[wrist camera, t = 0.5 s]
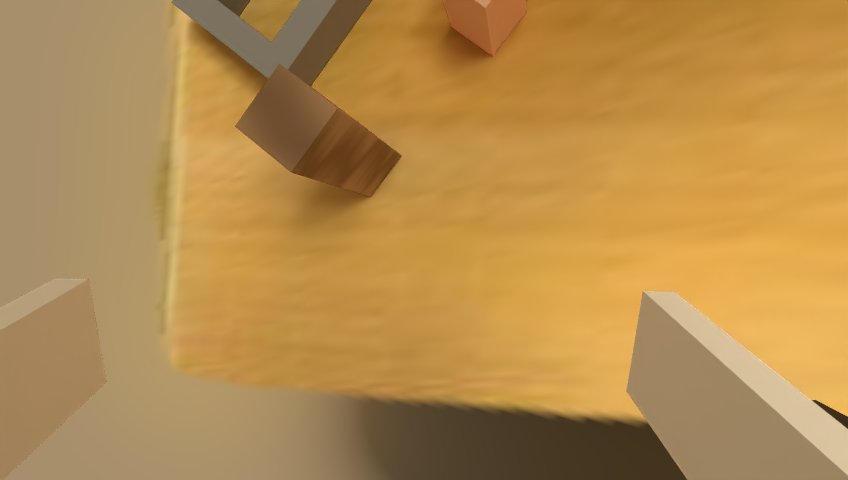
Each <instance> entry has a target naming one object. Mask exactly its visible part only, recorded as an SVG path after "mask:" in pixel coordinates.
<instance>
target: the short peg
mask: <svg viewBox="0 0 848 480" xmlns="http://www.w3.org/2000/svg"><path fill="white" fill-rule="evenodd" d="M443 3H444V6H445V9H446V12H447V16H448V19H449V22H450V25H451V27H452V28H453V29H455V30H456V31H458V32H459V33H460V34H462V35H463V36H465V37H466V38H467V39H469V40H470V41H472V42H473V43H474V44H476V45H477V46H479V47H480V48H481V49H483V50H484V51H486V52H487V53H488V54H490V55H491V56H494V54H495V53H496V52H497V50H498V49H499V48H500V46H501V45H502V44H503V42H504V41H505V40H506V38H507V37H508V36H509V34H510V33H511V32H512V30H513V29H514V28H515V26H516V25H517V24H518V23H519V21H520V20H521V19H522V17H523V16H524V15H525V13H526V10H527V0H443Z"/></svg>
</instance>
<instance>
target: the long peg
mask: <svg viewBox="0 0 848 480" xmlns="http://www.w3.org/2000/svg"><path fill="white" fill-rule="evenodd" d="M235 127H236V128H238V129H239V130H240V131H241V132H243V133H244V134H245V135H246V136H247V137H249V138H250V139H251V140H252V141H254V142H255V143H256V144H257V145H258V146H260V147H261V148H262V149H263V150H264V151H266V152H267V153H268V154H269V155H271V156H272V157H273V158H274V159H275V160H277V161H278V162H279V163H280V164H282V165H283V166H284V167H285V168H286V169H288V170H289V171H290V172H292V173H295V174H298V175H301V176H305V177H308V178H311V179H314V180H318V181H321V182H324V183H327V184H330V185H334V186H337V187H340V188H343V189H346V190H350V191H353V192H356V193H359V194H363V195H366V196H369V197H371V196H372V195H373V193H374V192H375V191H376V189H377V188H378V187H379V185H380V184H381V183H382V181H383V180H384V179H385V177H386V176H387V175H388V173H389V172H390V171H391V169H392V168H393V167H394V165H395V164H396V163H397V161H398V160H399V159H400V157H401V155H400V154H399V153H397V152H396V151H395V150H393V149H392V148H391V147H390V146H388V145H387V144H386V143H384V142H383V141H382V140H381V139H379V138H378V137H377V136H375V135H374V134H373V133H372V132H370V131H369V130H368V129H366V128H365V127H364V126H363V125H361V124H360V123H359V122H357V121H356V120H355V119H353V118H352V117H350V116H349V115H348V114H346V113H345V112H344V111H342V110H341V109H340V108H338V107H337V106H336V105H334V104H333V103H332V102H330V101H329V100H328V99H326V98H325V97H324V96H322V95H321V94H320V93H318V92H317V91H316V90H314V89H313V88H312V87H310V86H309V85H308V84H306V83H305V82H304V81H302V80H301V79H300V78H298V77H297V76H296V75H294V74H293V73H292V72H290V71H289V70H288V69H286V68H285V67H284V66H282V65H281V64H280V63H279V64H278V66H277V67H276V69H275V70H274V72H273V73H272V74H271V76H270V77H269V79H268V80H267V82H266V83H265V84H264V86H263V87H262V89H261V90H260V92H259V93H258V94H257V96H256V97H255V99H254V100H253V102H252V103H251V104H250V106H249V107H248V109H247V110H246V112H245V113H244V114H243V116H242V117H241V119H240V120H239V121H238V123H237V124H236V126H235Z"/></svg>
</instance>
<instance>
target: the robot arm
mask: <svg viewBox="0 0 848 480" xmlns="http://www.w3.org/2000/svg"><path fill="white" fill-rule="evenodd" d="M105 383H106V376H105V370H104V365H103V359H102V353H101V347H100V341H99V336H98V330H97V324H96V318H95V312H94V307H93V301H92V295H91V289H90V284H89V279H71V278H55V279H53V280H51V281H49V282H47V283H46V284H44V285H42V286H40V287H38V288H36V289H34V290H32V291H30V292H28V293H26V294H25V295H23V296H21V297H19V298H17V299H15V300H13V301H11V302H10V303H7V304H6V305H4V306H2V307H0V480H3V479H4V478H6V477H7V476H8V475H9V474H10V473H11V472H12V471H13V470H14V469H15V468H16V467H17V466H18V465H19V464H20V463H21V462H22V461H23V460H24V459H26V458H27V457H28V456H29V455H30V454H31V453H32V452H33V451H34V450H35V449H36V448H37V447H38V446H39V445H40V444H41V443H42V442H44V441H45V440H46V439H47V438H48V437H49V436H50V435H51V434H52V433H53V432H54V431H55V430H56V429H57V428H58V427H59V426H60V425H62V424H63V423H64V422H65V421H66V420H67V419H68V418H69V417H70V416H71V415H72V414H73V413H74V412H75V411H76V410H77V409H78V408H79V407H81V406H82V405H83V404H84V403H85V402H86V401H87V400H88V399H89V398H90V397H91V396H92V395H93V394H94V393H95V392H96V391H97V390H98V389H100V388H101V387H102V386H103V385H104V384H105ZM627 393H628V394H629V395H630V397H631V398H632V400H633V401H634V403H635V404H636V406H637V407H638V409H639V410H640V411H641V413H642V414H643V416H644V417H645V419H646V420H647V422H648V423H649V425H650V426H651V427H652V429H653V430H654V432H655V433H656V435H657V436H658V438H659V439H660V440H661V442H662V443H663V445H664V446H665V447H666V449H667V451H668V452H669V453H670V455H671V456H672V458H673V459H674V461H675V462H676V464H677V465H678V467H679V468H680V470H681V471H682V472H683V474H684V475H685V477H686V478H687V480H848V417H847V416H845V415H843V414H841V413H839V412H837V411H836V410H834V409H832V408H830V407H828V406H826V405H824V404H822V403H820V402H818V401H816V400H811V399H809V398H808V397H807V396H806V395H804V394H803V393H802V392H800V391H799V390H798V389H797V388H795V387H794V386H793V385H792V384H790V383H789V382H788V381H787V380H785V379H784V378H783V377H782V376H780V375H779V374H778V373H777V372H775V371H774V370H773V369H771V368H770V367H769V366H768V365H766V364H765V363H764V362H763V361H761V360H760V359H759V358H758V357H756V356H755V355H754V354H753V353H751V352H750V351H749V350H748V349H746V348H745V347H744V346H742V345H741V344H740V343H739V342H737V341H736V340H735V339H734V338H732V337H731V336H730V335H729V334H727V333H726V332H725V331H724V330H722V329H721V328H720V327H719V326H717V325H716V324H715V323H713V322H712V321H711V320H710V319H708V318H707V317H706V316H705V315H703V314H702V313H701V312H700V311H698V310H697V309H696V308H695V307H693V306H692V305H691V304H690V303H688V302H687V301H686V300H684V299H683V298H682V297H681V296H679V295H678V294H677V293H676V292H666V291H643V294H642V300H641V306H640V313H639V319H638V325H637V331H636V337H635V343H634V349H633V355H632V361H631V367H630V374H629V380H628V386H627Z"/></svg>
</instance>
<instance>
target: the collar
mask: <svg viewBox="0 0 848 480" xmlns="http://www.w3.org/2000/svg"><path fill="white" fill-rule="evenodd" d="M249 1H250V0H173V1H172V3H173V4H174V5H175V6H177V7H178V8H179V9H180V10H182V11H183V12H184V13H185V14H187V15H188V16H189V17H191V18H192V19H193V20H194V21H196V22H197V23H198V24H199V25H201V26H202V27H203V28H204V29H206V30H207V31H208V32H210V33H211V34H212V35H213V36H215V37H216V38H217V39H218V40H220V41H221V42H222V43H223V44H225V45H226V46H227V47H229V48H230V49H231V50H232V51H234V52H235V53H236V54H237V55H239V56H240V57H241V58H242V59H244V60H245V61H246V62H248V63H249V64H250V65H251V66H253V67H254V68H255V69H256V70H258V71H259V72H260V73H261V74H263V75H264V76H265V77H267V78H268V79H269V77H270V76H271V74H272V73H273V72H274V70H275V69H276V67H277V66H278V64H279V63H280V64H281V65H282V66H284V67H285V68H286V69H288V70H289V71H290V72H292V73H293V74H294V75H296V76H297V77H298V78H300V79H301V80H302V81H304V82H305V83H306V84H308V85H309V86H311V85H312V83H313V82H314V81H315V79H316V78H317V76H318V75H319V74H320V72H321V71H322V69H323V68H324V67H325V65H326V64H327V62H328V61H329V60H330V58H331V57H332V55H333V54H334V53H335V51H336V50H337V48H338V47H339V46H340V44H341V43H342V41H343V40H344V39H345V37H346V36H347V34H348V33H349V32H350V30H351V29H352V27H353V26H354V25H355V23H356V22H357V20H358V19H359V18H360V16H361V15H362V13H363V12H364V11H365V9H366V8H367V6H368V5H369V4H370V2H371V1H372V0H301V2H300V3H299V4H298V6H297V7H296V9H295V10H294V12H293V13H292V14H291V16H290V17H289V19H288V20H287V22H286V23H285V25H284V26H283V27H282V29H281V30H280V32H279V33H278V35H277V36H276V37H275V39H274V40H273V42H271V41H269V40H268V39H267V38H266V37H264V36H263V35H262V34H260V33H259V32H258V31H257V30H255V29H254V28H253V27H251V26H250V25H249V24H247V23H246V22H245V21H244V20H242V19H241V18H240V17H239V16H240V14H241V13H242V11H243V10H244V8H245V7H246V5H247V4H248V2H249Z"/></svg>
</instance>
